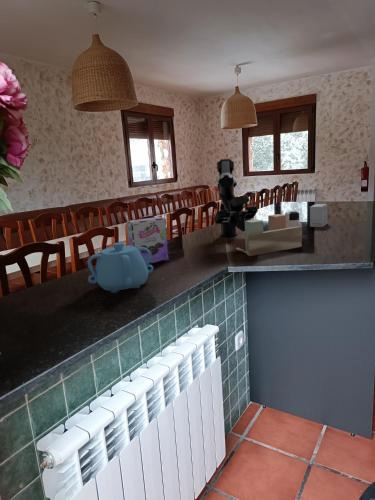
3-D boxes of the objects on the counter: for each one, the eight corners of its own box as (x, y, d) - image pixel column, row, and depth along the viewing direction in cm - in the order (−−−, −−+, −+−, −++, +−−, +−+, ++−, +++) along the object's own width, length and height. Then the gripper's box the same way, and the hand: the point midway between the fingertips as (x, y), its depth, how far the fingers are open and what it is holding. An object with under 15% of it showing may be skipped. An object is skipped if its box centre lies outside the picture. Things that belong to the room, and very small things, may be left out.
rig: (233, 249, 142) (233, 230, 140) (282, 241, 151) (282, 223, 149) (250, 256, 131) (249, 235, 129) (301, 246, 140) (301, 226, 138)
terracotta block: (268, 243, 148) (268, 215, 145) (278, 242, 149) (278, 214, 147) (275, 245, 143) (275, 216, 140) (285, 244, 145) (285, 215, 142)
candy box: (135, 266, 128) (130, 222, 124) (130, 263, 133) (125, 220, 129) (169, 260, 134) (166, 217, 130) (163, 257, 139) (159, 216, 135)
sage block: (245, 250, 139) (244, 220, 136) (256, 248, 140) (255, 219, 137) (252, 253, 134) (251, 222, 131) (263, 251, 136) (263, 220, 133)
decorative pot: (127, 299, 97) (122, 251, 93) (84, 292, 104) (78, 248, 101) (159, 280, 111) (155, 238, 107) (119, 275, 118) (115, 236, 115)
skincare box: (315, 223, 187) (315, 203, 185) (327, 223, 184) (328, 203, 181) (309, 226, 179) (309, 206, 177) (322, 227, 175) (322, 206, 173)
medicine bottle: (298, 236, 157) (298, 210, 155) (302, 240, 151) (302, 212, 148) (282, 237, 158) (282, 211, 155) (285, 241, 151) (284, 213, 148)
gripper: (215, 191, 140) (230, 221, 133) (255, 186, 147) (271, 215, 140) (208, 208, 149) (221, 238, 142) (245, 203, 156) (260, 232, 149)
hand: (244, 230), depth 143 cm, fingers closed
